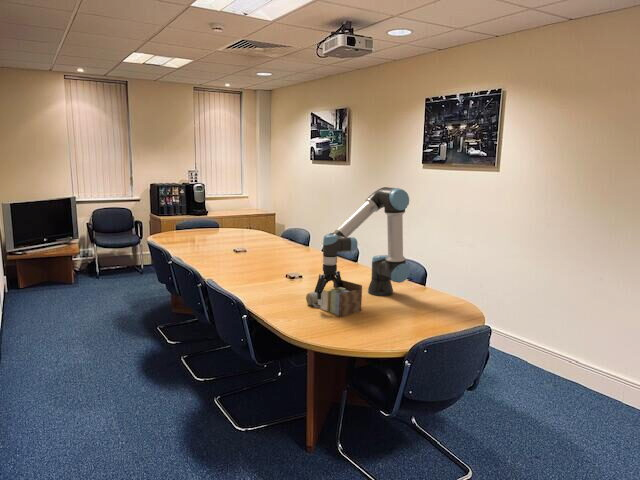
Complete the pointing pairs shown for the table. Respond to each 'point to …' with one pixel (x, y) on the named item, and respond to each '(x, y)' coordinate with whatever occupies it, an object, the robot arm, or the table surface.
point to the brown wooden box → (346, 299)
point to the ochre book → (326, 299)
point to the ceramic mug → (312, 299)
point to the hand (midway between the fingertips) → (328, 302)
